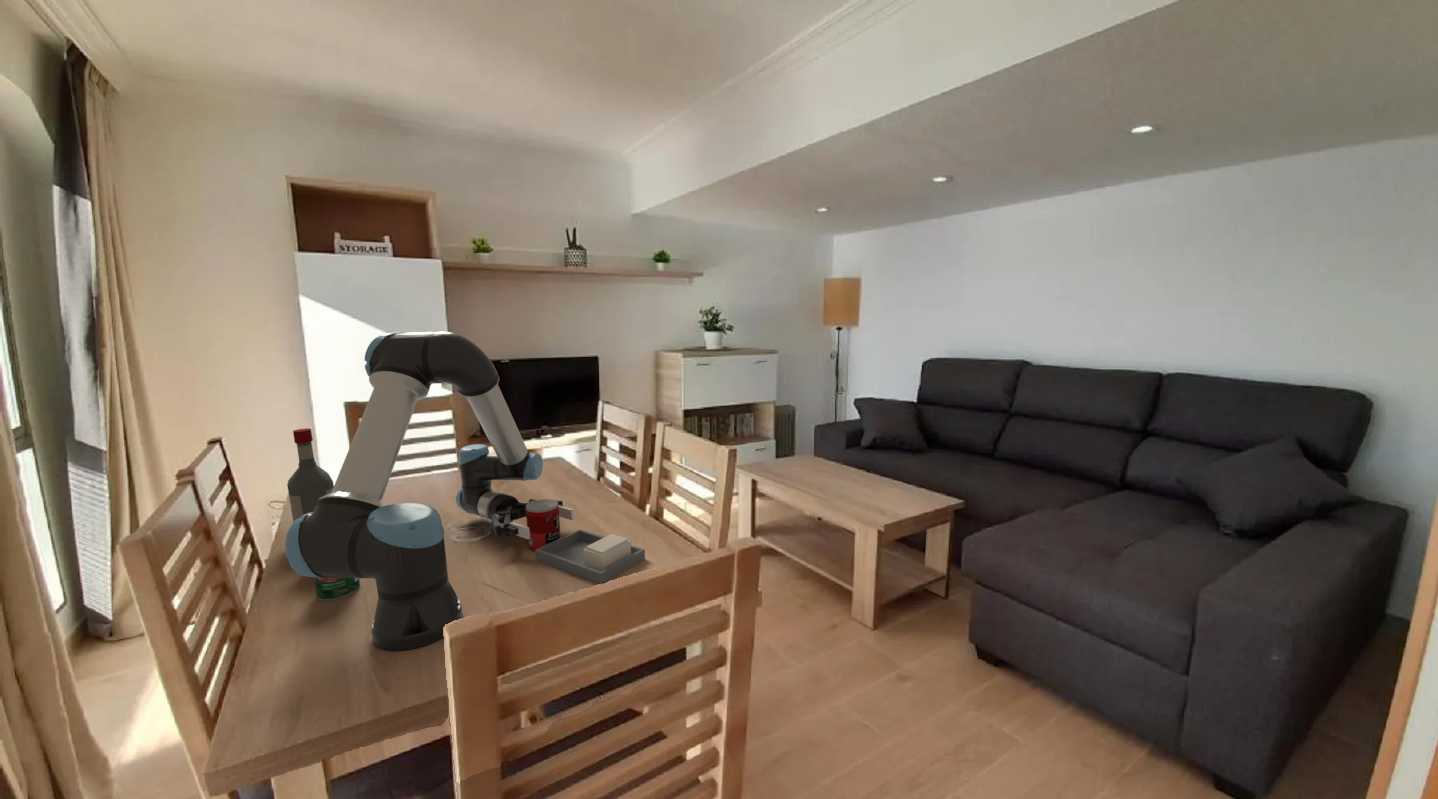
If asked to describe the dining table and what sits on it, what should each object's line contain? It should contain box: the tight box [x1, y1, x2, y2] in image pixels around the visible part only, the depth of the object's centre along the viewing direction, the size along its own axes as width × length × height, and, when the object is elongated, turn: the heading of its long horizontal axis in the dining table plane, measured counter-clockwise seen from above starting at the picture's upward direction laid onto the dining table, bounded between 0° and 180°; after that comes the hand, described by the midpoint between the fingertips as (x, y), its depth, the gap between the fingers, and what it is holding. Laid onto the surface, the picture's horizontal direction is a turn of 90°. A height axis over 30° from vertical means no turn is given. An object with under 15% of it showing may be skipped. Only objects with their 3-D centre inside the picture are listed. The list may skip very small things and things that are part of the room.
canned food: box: [525, 498, 562, 552], centre depth 138 cm, size 8×8×11 cm
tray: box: [534, 529, 646, 585], centre depth 129 cm, size 22×14×3 cm, turn 56°
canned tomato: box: [313, 577, 361, 601], centre depth 117 cm, size 8×8×11 cm
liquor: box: [286, 427, 335, 523], centre depth 141 cm, size 9×9×30 cm
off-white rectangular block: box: [583, 533, 632, 571], centre depth 126 cm, size 6×9×6 cm, turn 146°
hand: (551, 523), depth 136 cm, fingers open, 13 cm apart
